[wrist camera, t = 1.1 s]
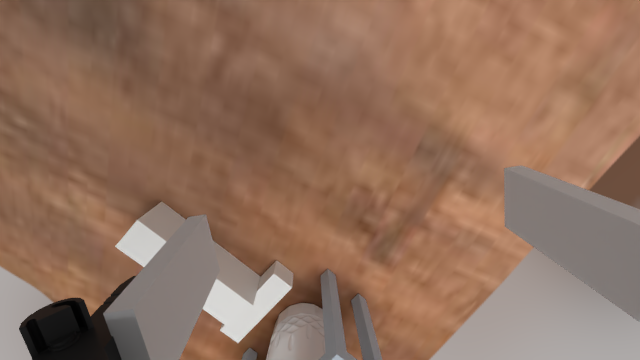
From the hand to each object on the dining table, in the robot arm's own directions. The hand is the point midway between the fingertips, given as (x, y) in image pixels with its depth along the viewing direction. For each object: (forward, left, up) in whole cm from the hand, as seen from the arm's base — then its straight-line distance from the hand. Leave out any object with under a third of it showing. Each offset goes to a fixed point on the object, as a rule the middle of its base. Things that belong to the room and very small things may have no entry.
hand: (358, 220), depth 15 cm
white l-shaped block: (-1, -18, -21) cm, 28 cm away
